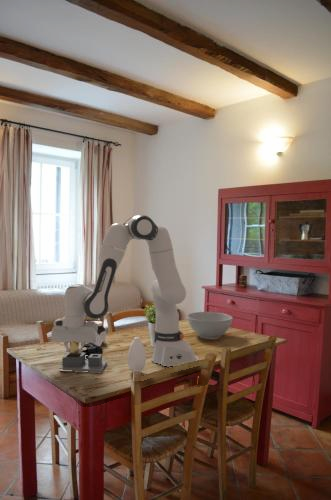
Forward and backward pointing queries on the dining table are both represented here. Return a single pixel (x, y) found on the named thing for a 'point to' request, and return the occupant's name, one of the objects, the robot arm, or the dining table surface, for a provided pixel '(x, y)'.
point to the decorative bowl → (209, 324)
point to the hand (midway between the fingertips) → (74, 351)
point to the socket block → (83, 363)
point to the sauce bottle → (136, 355)
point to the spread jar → (100, 333)
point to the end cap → (92, 349)
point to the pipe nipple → (74, 349)
